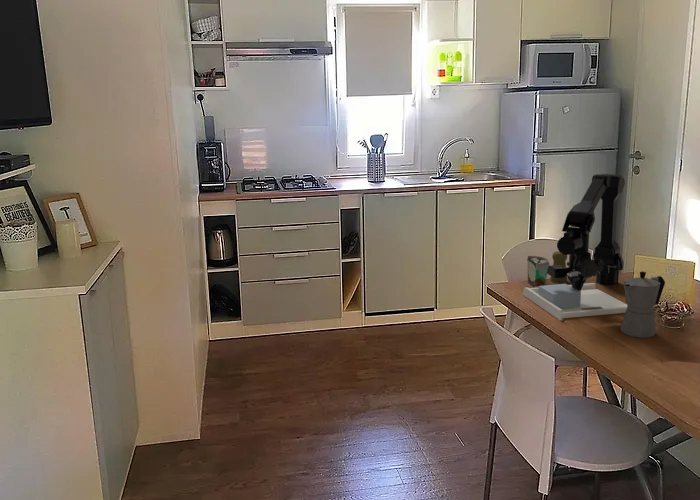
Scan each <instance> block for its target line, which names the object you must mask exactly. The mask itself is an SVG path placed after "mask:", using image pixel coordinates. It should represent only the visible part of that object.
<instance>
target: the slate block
mask: <svg viewBox="0 0 700 500" xmlns="http://www.w3.org/2000/svg"><path fill="white" fill-rule="evenodd" d="M569 285H570V284H567V283H555V284H548V285H545V286H539V292H538V294H539V295H540V296H542V297H543V298H545V299H546V300H548V301H549V302H551V303H552V304H554V305H555V306H557V307H559V308H560V309H564V308H574V307H580V301H581V292H580V291H578V290H577V289H575V288H573V287H571V286H569Z"/></svg>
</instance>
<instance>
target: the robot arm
mask: <svg viewBox="0 0 700 500" xmlns="http://www.w3.org/2000/svg"><path fill="white" fill-rule="evenodd" d="M625 184H626V181H625V178H624V177H623V176H622V175H621V174H615V173H614V174H613V173H612V174H610V173H609V174H608V173H600V174H599V173H598V174H594V175H592V177H591V182H590V184H589V186H588V188H587V189H586V191H585V193H584V195H583V197H582V198H581V200H580V201H579V202H577V203H576V204H575V205H574V204H573V206H572V208H571V209H570V210H569V211H568V212H567V214H566V218H565V220H564V223H563V226H562V229H561V232H563V236H562V237H560V238H559V239H558V240H557V243H556V247H557V251H559V252H560V253H562V254H564V255H567V256H568V261H566V268H564V267H562V266H560V265H553V264H552V265H550V266H549V267H548V269H547V275H549V276H550V277H551V276H552V277H554V278H564V277H565V276H567V280H568V281H569V283H570V285H572V287H573V288H575V289H577V290H578V291H581V289H582V287H583V284H586V281H587V280H588V279H589V278H592V277H596V280H595V281H596V283H595V284H598V285H605V286H613V285H617V284H619V273H620V271H623V270H624V264H625V262H624V260H623V257H622V255H621V246H620V245H619V244H618V242H617V240H616V231H617V210H618V209H617V208H618V199H619V197H620V196H621V195H622V193H623V191H624V187H625ZM600 200H601V223H600V224H601V225H600V241H599V243H598V244H597V245H596V246H595V247H594V253H593V259H592V255H591V254H592V253H591V252H590V251H589V248H590V247H589V246H590V245H589V244H590V233H591V232H592V228H593V226H594V224H595V222H596V215H595V209H596V207H597V206H598V204H599V203H600Z"/></svg>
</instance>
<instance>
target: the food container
mask: <svg viewBox="0 0 700 500" xmlns="http://www.w3.org/2000/svg"><path fill="white" fill-rule="evenodd" d="M526 259H527V260H526V261H527V284H528V285H529V287H532V288H538V287H539V286H545V285H546V284H547V277H548V274H547V269H548V267H549V266H551V265H550V261H549V259H547V258H546V257H543V256H536V255H527V258H526Z"/></svg>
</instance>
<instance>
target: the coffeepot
mask: <svg viewBox="0 0 700 500" xmlns="http://www.w3.org/2000/svg"><path fill="white" fill-rule="evenodd" d="M646 274H647V272H646V271H643V270H642V271H639V276H637V277H627V278H626V279H624V280H623V288H624V298H625V304H627V309H626V311H625V313H624V316H623V320H622V323H621V326H620V331H621V332H622V333H623V334H624V335H626V336H630V337H633V338H642V339H646V338H652V337H654V336H655V334H656V333H657V329H656V328H657V327H656V319H655V318H656V317H655V312H654V307H655V305H657V304H659V303H660V299H661V297H662V293H663V290H664V288H665V284H666V281H665V279H664V277H662V276H660V275H658V276H653V277H650V278H648V277H646Z"/></svg>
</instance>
